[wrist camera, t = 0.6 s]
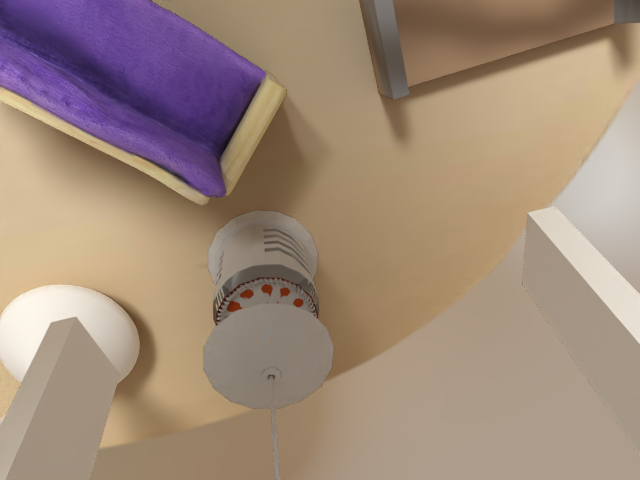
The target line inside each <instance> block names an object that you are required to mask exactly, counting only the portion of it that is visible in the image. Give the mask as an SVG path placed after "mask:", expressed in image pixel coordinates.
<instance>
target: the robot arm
mask: <svg viewBox="0 0 640 480" xmlns="http://www.w3.org/2000/svg"><path fill="white" fill-rule="evenodd" d="M522 285H523V286H524V288H525V289H526V291H527V292H528V294H529V295H530V297H531V298H532V299H533V301H534V302H535V304H536V305H537V307H538V308H539V310H540V311H541V312H542V314H543V316H544V317H545V319H546V320H547V322H548V323H549V324H550V326H551V327H552V329H553V330H554V332H555V333H556V335H557V336H558V338H559V339H560V341H561V342H562V344H563V345H564V347H565V348H566V349H567V351H568V352H569V354H570V355H571V357H572V358H573V360H574V361H575V363H576V364H577V366H578V367H579V368H580V370H581V371H582V373H583V374H584V376H585V377H586V379H587V380H588V382H589V383H590V385H591V386H592V388H593V389H594V390H595V392H596V393H597V395H598V396H599V398H600V399H601V401H602V402H603V404H604V405H605V407H606V408H607V409H608V411H609V412H610V414H611V415H612V417H613V418H614V420H615V421H616V423H617V424H618V426H619V427H620V428H621V430H622V432H623V433H624V434H625V436H626V437H627V439H628V440H629V442H630V443H631V445H632V446H633V448H634V449H635V450H636V452H637V454H638V455H639V456H640V295H639V293H638V292H637V291H635V289H634V288H633V287H632V286H631V285H630V284H629V283H628V282H627V281H626V280H625V279H624V278H623V277H622V276H621V275H620V274H619V273H618V272H617V270H615V268H613V266H612V265H611V264H610V263H609V262H608V261H607V260H606V259H605V258H604V257H603V256H602V255H601V254H600V253H599V252H598V251H597V250H596V249H595V248H594V247H593V246H592V244H591V243H590V242H589V241H588V240H587V239H586V238H585V237H584V236H583V235H582V234H581V233H580V232H579V231H578V230H577V229H576V228H575V227H574V226H573V225H572V224H571V223H570V222H569V221H568V219H567V218H566V217H565V216H564V215H563V214H562V213H561V212H560V211H559V210H558V209H557V208H556V207H555V206H554V207H550V208H545V209H541V210H537V211H532V212H528V213H527V225H526V240H525V253H524V265H523V279H522ZM119 376H120V374H119V372H118V371H117V370H116V368H115V367H114V366H113V364H112V363H111V362H110V360H109V359H108V358H107V356H106V355H105V354H104V352H103V351H102V350H101V348H100V347H99V346H98V345H97V343H96V342H95V341H94V339H93V338H92V337H91V335H90V334H89V333H88V331H87V330H86V329H85V327H84V326H83V325H82V323H81V322H80V321H79V319H78V318H77V317H72V318H67V319H63V320H59V321H54V322H51V323H50V325H49V327H48V329H47V331H46V333H45V335H44V337H43V339H42V342H41V344H40V346H39V348H38V350H37V352H36V354H35V356H34V358H33V360H32V362H31V364H30V366H29V368H28V370H27V372H26V374H25V376H24V378H23V380H22V382H21V384H20V387H19V389H18V391H17V393H16V395H15V397H14V399H13V401H12V403H11V405H10V407H9V409H8V411H7V413H6V415H5V417H4V419H3V421H2V423H1V425H0V480H90V476H91V473H92V469H93V466H94V463H95V459H96V456H97V452H98V449H99V445H100V442H101V438H102V435H103V432H104V428H105V425H106V421H107V418H108V414H109V411H110V407H111V404H112V401H113V397H114V394H115V390H116V387H117V383H118V380H119Z"/></svg>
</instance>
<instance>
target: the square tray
mask: <svg viewBox="0 0 640 480" xmlns="http://www.w3.org/2000/svg"><path fill="white" fill-rule="evenodd" d="M359 2H360V7H361V11H362V16H363V21H364V25H365V30H366V35H367V40H368V44H369V49H370V54H371V58H372V63H373V68H374V73H375V77H376V82H377V87H378V91H379V93H380V94H382V95H384V96H387V97H389V98H391V99H393V100H394V99H398V98H401V97H404V96H407V95H410V93H409V88H408V87H410V86H413V85H416V84H420V83H423V82H426V81H429V80H433V79H436V78H439V77H442V76H445V75H449V74H452V73H455V72H458V71H462V70H465V69H468V68H471V67H475V66H478V65H481V64H484V63H488V62H491V61H494V60H497V59H501V58H504V57H507V56H510V55H514V54H517V53H520V52H523V51H526V50H530V49H533V48H536V47H539V46H543V45H546V44H549V43H552V42H556V41H559V40H562V39H565V38H569V37H572V36H575V35H578V34H582V33H585V32H588V31H591V30H595V29H598V28H601V27H604V26H607V25H611V24H614V23H640V0H359Z"/></svg>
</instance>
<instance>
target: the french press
mask: <svg viewBox="0 0 640 480" xmlns="http://www.w3.org/2000/svg"><path fill="white" fill-rule="evenodd" d="M317 262H318V251H317V248H316V245H315V242H314V240H313V237H312V235H311V234H310V232H309V231H308V230H307V229H306V228H305V227H304V226H303V225H302V224H301V223H300V222H299V221H298V220H296V219H294V218H292V217H290V216H287V215H285V214H283V213H280V212H278V211H256V210H255V211H252V212H249V213H246V214H243V215H240V216H237V217H234V218H233V219H231V220H230V221H229V222H228V223H227V224H226V225H225V226H223V227H222V228H221V229H220V230H219V231H218V232H217V233H216V235H215V237H214V240H213V242H212V244H211V246H210V248H209V250H208V271H209V273H210V275H211V277H212V279H213V281H214V284H215V292H214V301H213V319H214V322H215V324H216V326H215V327H214V329H213V331H212V333H211V335H210V337H209V339H208V341H207V342H206V344H205V346H204V368H203V369H204V371H205V373H206V375H207V377H208V379H209V381H210V383H211V385H212V387H213V388H214V389H215V390H216V391H218V392H219V393H220V394H222V395H223V396H224V397H225V398H227V399H228V400H229V401H231V402H233V403H236V404H240V405H243V406H246V407H249V408H253V409H271V421H272V437H273V438H272V439H273V457H274V475H275V480H280V471H279V457H278V442H277V427H276V412H275V409H279V408H282V407H285V406H288V405H291V404H294V403H297V402H300V401H302V400H303V399H305V398H306V397H307V396H309V395H310V394H311V393H313V392H314V391H315V390H316V389H318V388H319V387H321V386H322V384H323V382H324V380H325V378H326V377H327V375H328V373H329V372H330V370H331V369H332V362H333V354H334V346H333V343H332V340H331V338H330V335H329V332H328V329H327V328H326V327H325V326H324V325H323V324H322V323H321V322H320V321H319V320H318V314H319V303H318V294H317V290H316V287H315V282H313V281H314V279H313V278H314V276H315V274H316V272H317ZM311 283H312V289H311V291H310V286H311ZM313 291H314V292H315V294H314V297H313V298H312V294H313ZM219 292H220V295H221V298H222V303H221V300H220V297H219ZM221 292H222V293H223V295H224V299H223V296H222V293H221ZM217 296H218V299H219V303H220V307H219V305H218V300H217ZM315 299H316V302H317V303H316V306H315V304H314V302H315ZM216 304H217V308H218V311H217V309H216V306H215V305H216Z"/></svg>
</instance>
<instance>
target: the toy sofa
mask: <svg viewBox="0 0 640 480" xmlns="http://www.w3.org/2000/svg"><path fill="white" fill-rule="evenodd" d="M286 94H287V89H285V88H284V87H283V86H282V85H280V84H279V83H278V82H277V81H276V78H275V76H273V75H272V74H270V73H269V72H267V71H263V70H262V69H261V68H259V67H257V66H256V65H254V64H252V63H251V62H250V61H248V60H247V59H245V58H243V57H242V56H240V55H239V54H237V53H236V52H234V51H233V50H231V49H230V48H228V47H227V46H225V45H224V44H222V43H221V42H219V41H218V40H216V39H215V38H213V37H212V36H210V35H209V34H207V33H205V32H204V31H202V30H201V29H199V28H198V27H196V26H195V25H193V24H192V23H190V22H188V21H186V20H185V19H183V18H181V17H180V16H178V15H176V14H174V13H173V12H171V11H169V10H167V9H165V8H162V7H160V6H159V5H157V4H155V3H154V2H152V1H151V0H0V101H2V102H4V103H6V104H8V105H10V106H12V107H14V108H16V109H18V110H20V111H22V112H24V113H26V114H28V115H30V116H32V117H34V118H36V119H38V120H40V121H42V122H44V123H46V124H48V125H50V126H52V127H54V128H56V129H58V130H60V131H62V132H64V133H66V134H68V135H70V136H72V137H74V138H76V139H78V140H80V141H82V142H84V143H86V144H88V145H90V146H92V147H94V148H96V149H98V150H100V151H102V152H104V153H106V154H108V155H110V156H112V157H114V158H116V159H118V160H120V161H122V162H124V163H126V164H128V165H130V166H132V167H134V168H136V169H138V170H140V171H142V172H144V173H145V174H147V175H149V176H151V177H153V178H155V179H156V180H158V181H160V182H161V183H163V184H164V185H166V186H168V187H169V188H171V189H172V190H174V191H175V192H177V193H179V194H180V195H182V196H183V197H185V198H187V199H189V200H190V201H192V202H194V203H197V204H199V205H206V204H207V203H208V201H209V200H210V198H211V197H212V196H215V197H216V198H218V197H223V196H228V195H230V194H231V192H232V190H233V188H234V187H235V185H236V183H237V181H238V180H239V178H240V176H241V174H242V172H243V171H244V169H245V167H246V165H247V164H248V162H249V160H250V158H251V156H252V155H253V153H254V151H255V149H256V148H257V146H258V144H259V142H260V140H261V139H262V137H263V135H264V133H265V132H266V130H267V128H268V126H269V124H270V123H271V121H272V119H273V117H274V116H275V114H276V112H277V110H278V109H279V107H280V105H281V103H282V101H283V100H284V98H285V96H286Z"/></svg>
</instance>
